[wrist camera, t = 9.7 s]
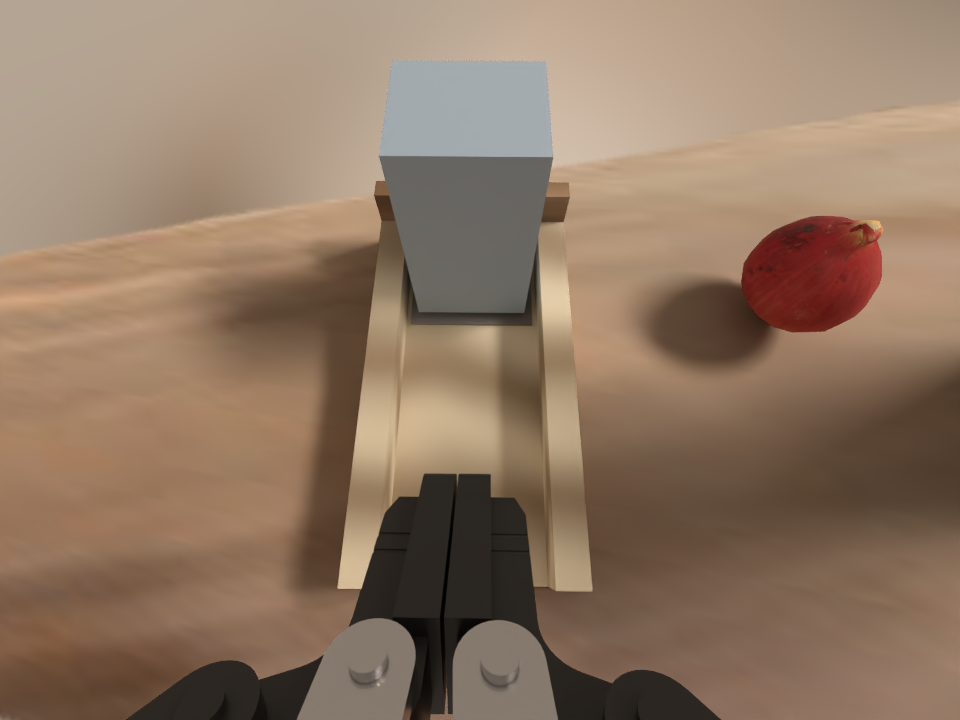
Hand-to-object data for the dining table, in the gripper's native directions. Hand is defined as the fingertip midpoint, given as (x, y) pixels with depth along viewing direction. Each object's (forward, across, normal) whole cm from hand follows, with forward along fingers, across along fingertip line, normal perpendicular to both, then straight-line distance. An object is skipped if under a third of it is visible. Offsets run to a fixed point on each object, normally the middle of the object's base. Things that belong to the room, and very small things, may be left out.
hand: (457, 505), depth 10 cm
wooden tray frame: (+14, 0, +4) cm, 15 cm away
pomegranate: (+18, -17, +1) cm, 25 cm away
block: (+18, 0, -2) cm, 18 cm away
